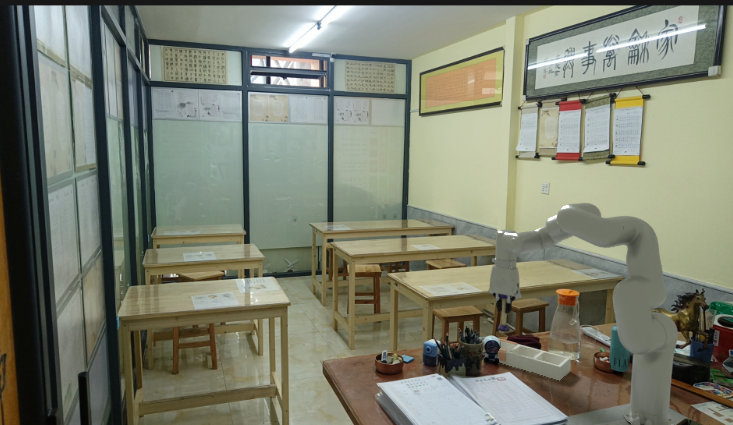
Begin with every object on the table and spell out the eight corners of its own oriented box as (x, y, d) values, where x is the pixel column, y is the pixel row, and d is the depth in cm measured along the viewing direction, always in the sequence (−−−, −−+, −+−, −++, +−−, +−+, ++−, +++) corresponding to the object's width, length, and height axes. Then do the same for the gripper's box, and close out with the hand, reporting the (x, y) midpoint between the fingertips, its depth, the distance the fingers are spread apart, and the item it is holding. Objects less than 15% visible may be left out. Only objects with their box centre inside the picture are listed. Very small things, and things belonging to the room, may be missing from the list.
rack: (559, 381, 160) (559, 366, 160) (483, 359, 179) (483, 345, 178) (569, 371, 168) (570, 357, 168) (496, 350, 187) (496, 337, 186)
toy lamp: (500, 332, 176) (502, 288, 174) (493, 327, 180) (496, 285, 178) (511, 331, 177) (514, 287, 175) (504, 327, 182) (507, 284, 180)
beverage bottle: (610, 374, 166) (613, 319, 164) (606, 367, 172) (609, 313, 170) (631, 377, 164) (634, 320, 162) (626, 369, 170) (630, 314, 168)
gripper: (480, 261, 178) (479, 309, 180) (522, 268, 168) (520, 318, 170) (490, 258, 184) (488, 305, 186) (531, 264, 173) (529, 313, 175)
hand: (504, 311), depth 178 cm, fingers closed on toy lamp, 2 cm apart
